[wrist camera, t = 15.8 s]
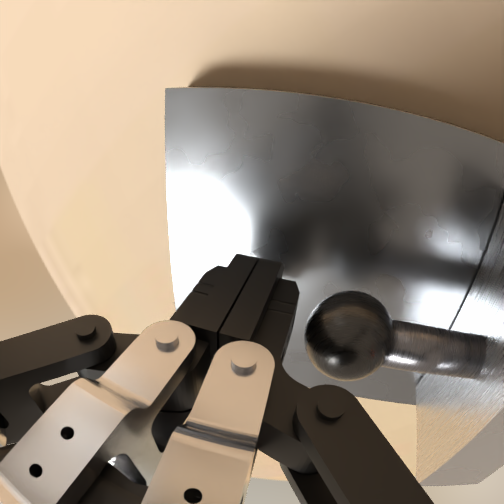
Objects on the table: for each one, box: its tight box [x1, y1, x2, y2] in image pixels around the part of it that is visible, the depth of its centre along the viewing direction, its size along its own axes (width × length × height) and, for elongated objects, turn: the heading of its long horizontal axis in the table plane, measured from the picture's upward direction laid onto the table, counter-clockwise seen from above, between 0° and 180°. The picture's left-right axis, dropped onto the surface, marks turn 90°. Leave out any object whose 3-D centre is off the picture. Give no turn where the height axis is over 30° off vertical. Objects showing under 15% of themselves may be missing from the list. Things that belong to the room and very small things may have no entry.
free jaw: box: [304, 201, 504, 486], centre depth 8 cm, size 9×9×5 cm
